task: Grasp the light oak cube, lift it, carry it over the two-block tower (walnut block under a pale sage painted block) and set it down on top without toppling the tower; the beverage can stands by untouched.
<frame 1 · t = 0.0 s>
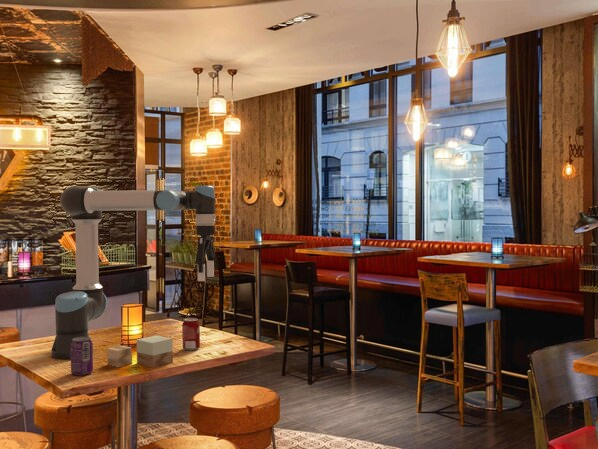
hand: (206, 278, 245), 28 cm above the table, fingers open, 13 cm apart
soda can: (191, 349, 247), on the table
tower top block: (154, 351, 226), point 4 cm above the table
tower base block: (155, 363, 226), on the table
beverage can: (82, 374, 212), on the table
oak cube: (119, 364, 224), on the table
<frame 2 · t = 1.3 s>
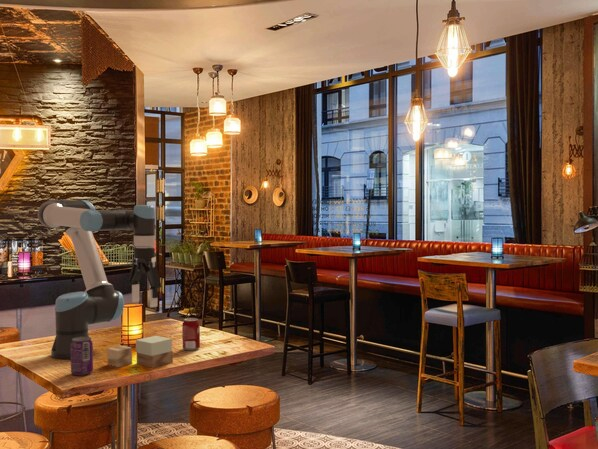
hand: (144, 304, 230), 21 cm above the table, fingers open, 13 cm apart
tower top block: (153, 351, 225), point 4 cm above the table, touching tower base block
tower base block: (154, 363, 226), on the table, touching tower top block
everything else where it was.
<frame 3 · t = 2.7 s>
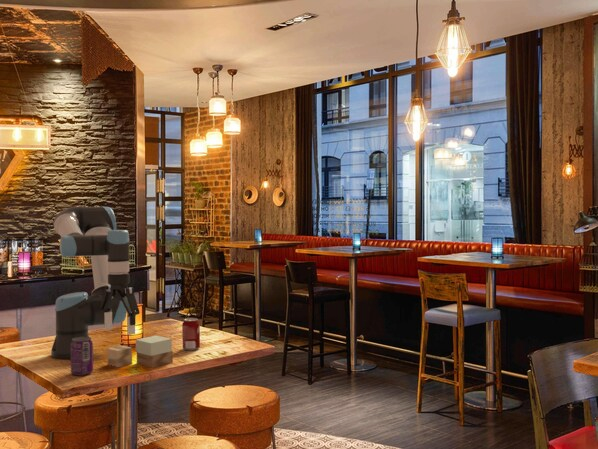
hand: (119, 332, 223), 12 cm above the table, fingers open, 13 cm apart
nothing on the table moved.
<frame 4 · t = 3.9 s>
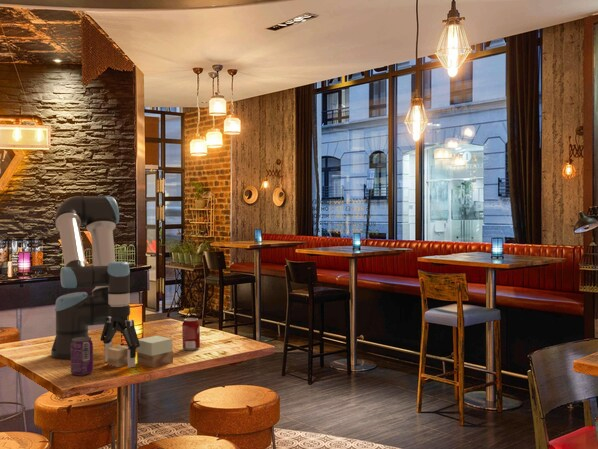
hand: (120, 363, 224), 0 cm above the table, fingers open, 13 cm apart
nothing on the table moved.
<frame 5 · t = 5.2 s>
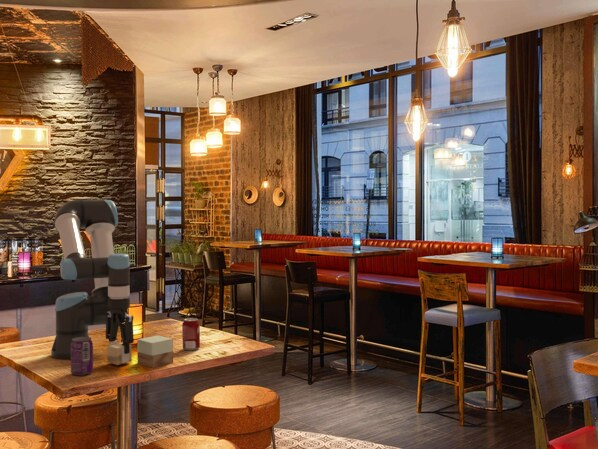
hand: (119, 360, 225), 1 cm above the table, fingers closed on oak cube, 6 cm apart
tower top block: (155, 351, 226), point 4 cm above the table
tower base block: (155, 363, 226), on the table
oak cube: (119, 361, 225), point 1 cm above the table, touching gripper
everything else where it was.
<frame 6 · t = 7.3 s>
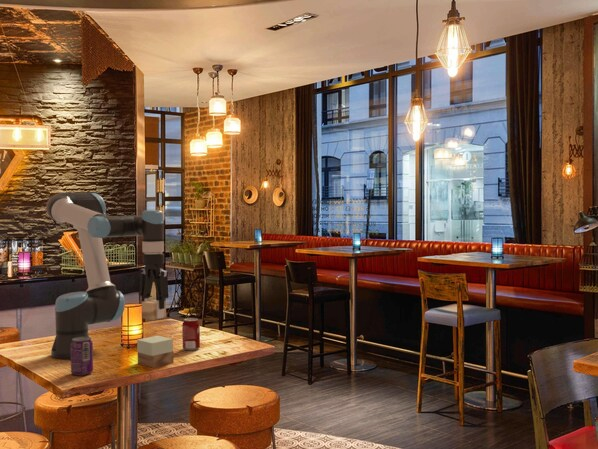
hand: (154, 316, 225), 17 cm above the table, fingers closed on oak cube, 6 cm apart
tower top block: (155, 351, 225), point 4 cm above the table, touching tower base block
tower base block: (155, 363, 226), on the table, touching tower top block
oak cube: (154, 317, 225), point 16 cm above the table, touching gripper
everything else where it was.
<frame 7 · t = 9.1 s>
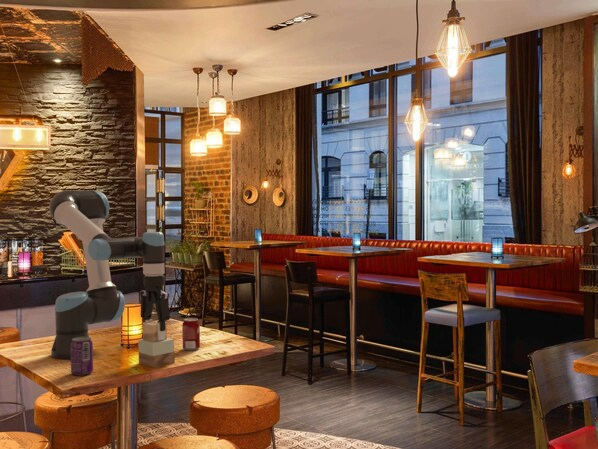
hand: (155, 338, 225), 9 cm above the table, fingers closed on oak cube, 6 cm apart
tower top block: (156, 351, 225), point 4 cm above the table, touching gripper, tower base block
oak cube: (155, 339, 225), point 9 cm above the table, touching gripper
everything else where it was.
when the fingers open (9 cm above the table, at t = 9.5 s): oak cube moves 1 cm, point 9 cm above the table.
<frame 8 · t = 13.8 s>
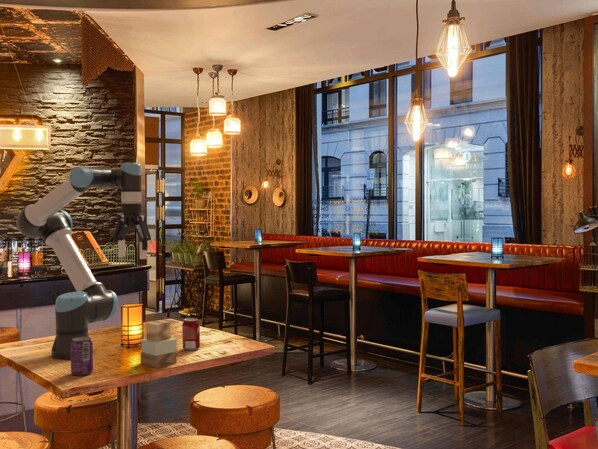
hand: (132, 258, 241), 37 cm above the table, fingers open, 13 cm apart
tower top block: (159, 351, 225), point 4 cm above the table, touching tower base block
oak cube: (158, 338, 226), point 9 cm above the table
at the end: oak cube 0.5 cm off-centre on the tower top block, point 4.5 cm above the tower top block's base; oak cube tilted 0°; tower top block tilted 0° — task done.
